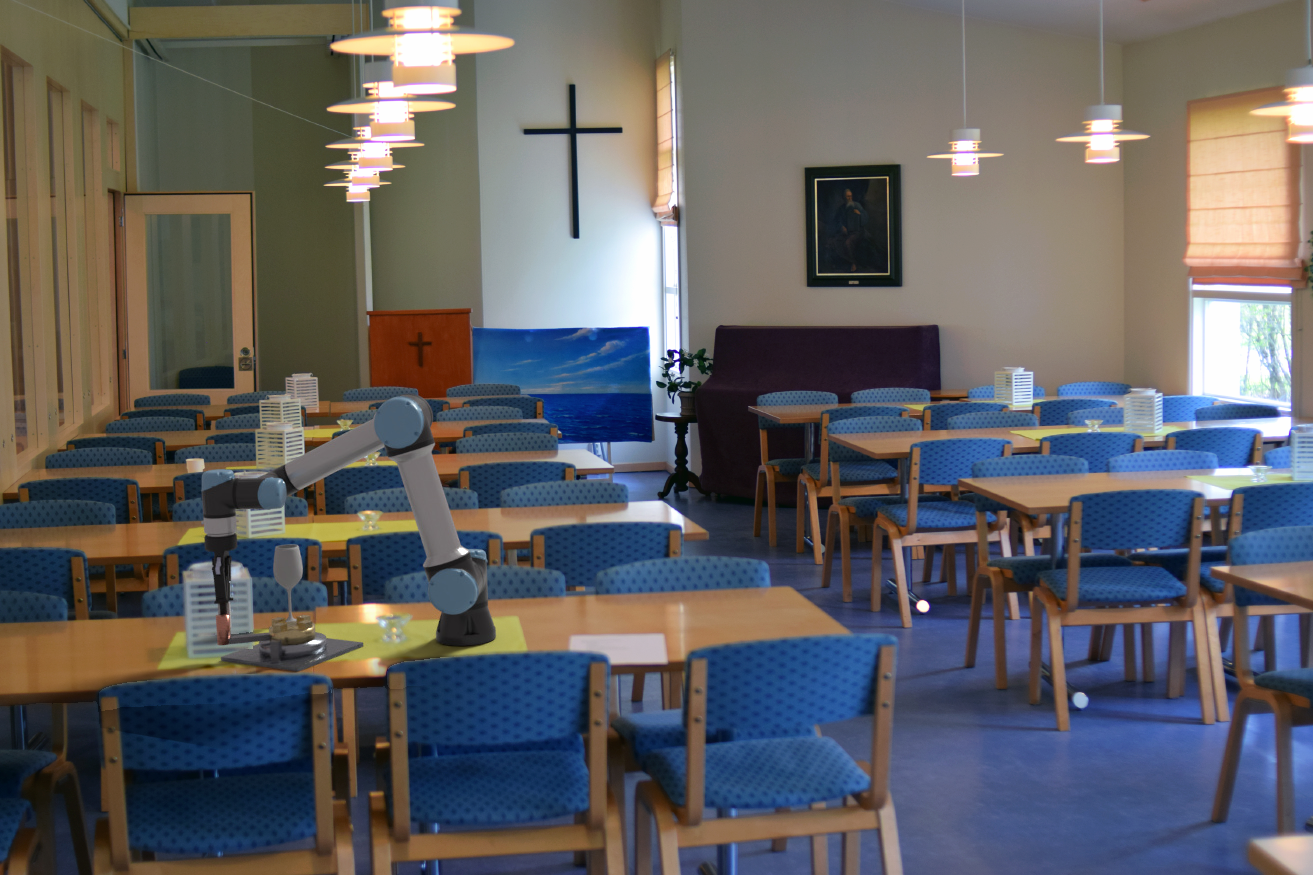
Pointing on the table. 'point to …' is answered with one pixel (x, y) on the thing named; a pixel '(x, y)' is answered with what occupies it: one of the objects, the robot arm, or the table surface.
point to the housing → (292, 653)
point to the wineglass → (288, 569)
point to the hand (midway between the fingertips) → (225, 628)
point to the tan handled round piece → (279, 630)
